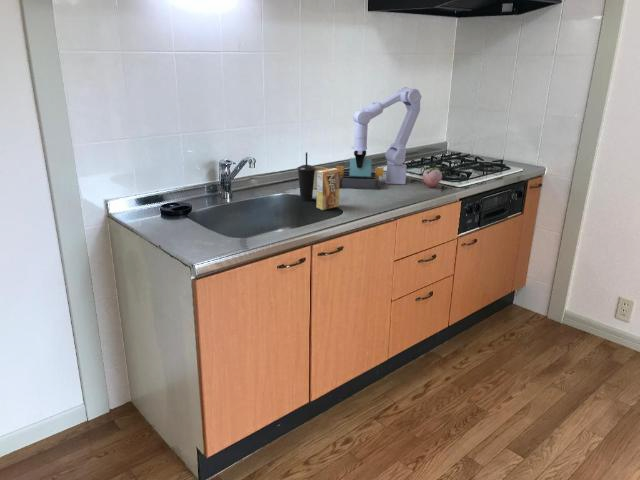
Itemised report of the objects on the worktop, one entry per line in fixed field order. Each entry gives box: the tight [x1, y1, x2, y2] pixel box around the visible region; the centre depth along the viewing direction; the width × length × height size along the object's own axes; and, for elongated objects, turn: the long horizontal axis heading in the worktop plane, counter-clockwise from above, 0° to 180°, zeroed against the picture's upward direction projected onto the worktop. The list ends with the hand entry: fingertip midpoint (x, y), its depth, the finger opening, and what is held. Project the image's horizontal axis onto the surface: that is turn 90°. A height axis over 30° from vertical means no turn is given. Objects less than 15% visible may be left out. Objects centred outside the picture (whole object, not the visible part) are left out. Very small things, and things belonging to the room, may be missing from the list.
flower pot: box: [313, 166, 328, 190], centre depth 237 cm, size 9×9×9 cm
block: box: [349, 157, 373, 177], centre depth 242 cm, size 10×2×8 cm, turn 84°
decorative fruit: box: [422, 166, 443, 188], centre depth 241 cm, size 9×8×10 cm
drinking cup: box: [296, 151, 316, 202], centre depth 217 cm, size 8×8×20 cm
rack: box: [335, 165, 384, 191], centre depth 243 cm, size 22×15×8 cm
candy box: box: [316, 167, 341, 211], centre depth 207 cm, size 9×4×15 cm, turn 129°
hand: (359, 167), depth 242 cm, fingers closed on block, 2 cm apart
